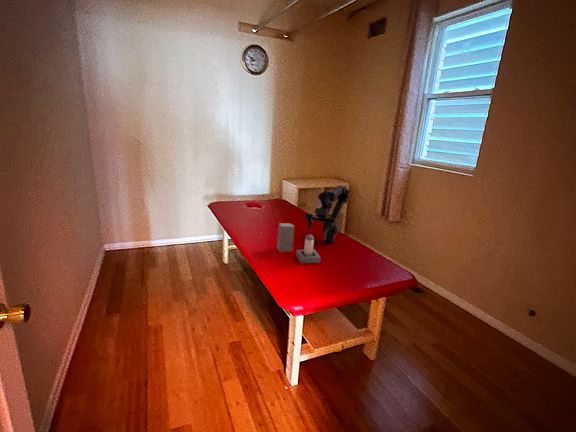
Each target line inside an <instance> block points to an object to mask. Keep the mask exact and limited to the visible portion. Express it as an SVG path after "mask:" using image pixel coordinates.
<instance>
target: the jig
mask: <svg viewBox="0 0 576 432" xmlns="http://www.w3.org/2000/svg"><path fill="white" fill-rule="evenodd" d="M295 256H296V257H297V259H298V262H300V264H321V258H322V257H321V256H320V254H319V253H318V251H316V249H314V248H313V255H312V256H304V249H296V253H295Z"/></svg>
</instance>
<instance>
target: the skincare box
mask: <svg viewBox="0 0 576 432" xmlns="http://www.w3.org/2000/svg"><path fill="white" fill-rule="evenodd" d="M277 229H278V231H277V241H276V243H277V244H276V245H277V246H276V249H277V250H278V252H279V253H288V252H289V253H290V252H293V249H294V248H293V247H294V238H295V236H294V235H295V225H294V224H292V223H288V222H287V223H278V228H277Z"/></svg>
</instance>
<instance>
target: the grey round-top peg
mask: <svg viewBox="0 0 576 432" xmlns="http://www.w3.org/2000/svg"><path fill="white" fill-rule="evenodd" d="M314 241H315V238H314V236H313V235H312V234H307V235H305V238H304V249H303V250H304V256H312V255H313V249H314V243H315V242H314Z"/></svg>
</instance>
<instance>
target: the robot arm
mask: <svg viewBox="0 0 576 432" xmlns="http://www.w3.org/2000/svg"><path fill="white" fill-rule="evenodd" d="M350 198H351V192H350V190H349V189H347V188H346V186H345V185H337V186H336V187H335V188H333V189H332V190H323V192H320V193H319V194H318V195H317V199H318V201H319V204H320V205H321V207H316V208H315V211H314V214H315V216H314V214H313V213H309V212H306V213H305V215H304V217H305V220H306V221H307V223H308V228H307V231H308V232H310V230H311V229H312V227H313V224H314V221H317V222H322V223H323V225H322V235H323V236H324V235H325V238H323V241H324V242H325V243H326V244H336V240H335V236H336V235H338V234H339V228H338V218H339V216H340V214H341V211H342V209H343V207H344V204H346V203H348V201H349V200H350ZM332 202H333V203H335V202H336V203H335V205H334V207H333V203H332ZM332 208H333V210H332V213H331V214H330V211H331V209H332ZM328 216H330V217H328Z"/></svg>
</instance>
